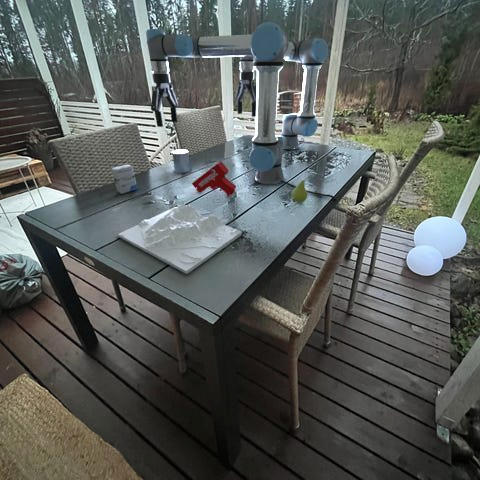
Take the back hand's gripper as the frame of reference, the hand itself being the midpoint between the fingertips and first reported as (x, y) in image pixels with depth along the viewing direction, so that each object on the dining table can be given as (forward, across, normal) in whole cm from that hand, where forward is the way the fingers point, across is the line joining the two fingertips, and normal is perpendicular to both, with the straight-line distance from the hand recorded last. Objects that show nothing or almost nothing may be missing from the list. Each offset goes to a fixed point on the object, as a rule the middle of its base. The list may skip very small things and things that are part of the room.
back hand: (246, 115), depth 155 cm
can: (+28, -12, -38) cm, 49 cm away
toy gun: (+28, +28, -40) cm, 57 cm away
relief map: (+28, +55, -70) cm, 94 cm away
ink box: (+28, 0, -73) cm, 79 cm away
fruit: (+28, +60, -15) cm, 67 cm away
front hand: (0, -1, -47) cm, 47 cm away
